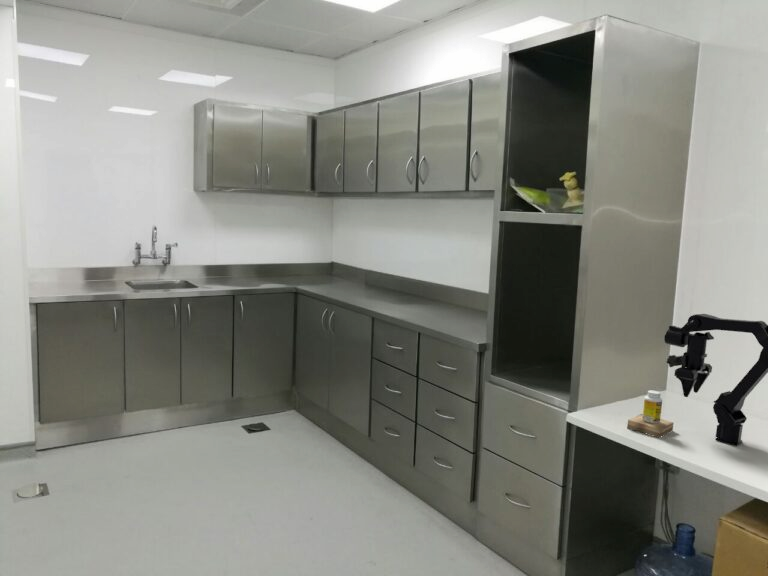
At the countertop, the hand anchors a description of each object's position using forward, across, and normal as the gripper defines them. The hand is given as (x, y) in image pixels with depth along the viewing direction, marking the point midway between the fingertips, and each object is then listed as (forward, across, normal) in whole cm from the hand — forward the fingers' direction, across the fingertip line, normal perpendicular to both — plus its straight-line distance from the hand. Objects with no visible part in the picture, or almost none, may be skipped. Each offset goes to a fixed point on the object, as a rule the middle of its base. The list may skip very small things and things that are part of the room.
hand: (690, 394), depth 217 cm
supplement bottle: (+9, +13, -7) cm, 17 cm away
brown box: (+12, +13, -8) cm, 19 cm away
